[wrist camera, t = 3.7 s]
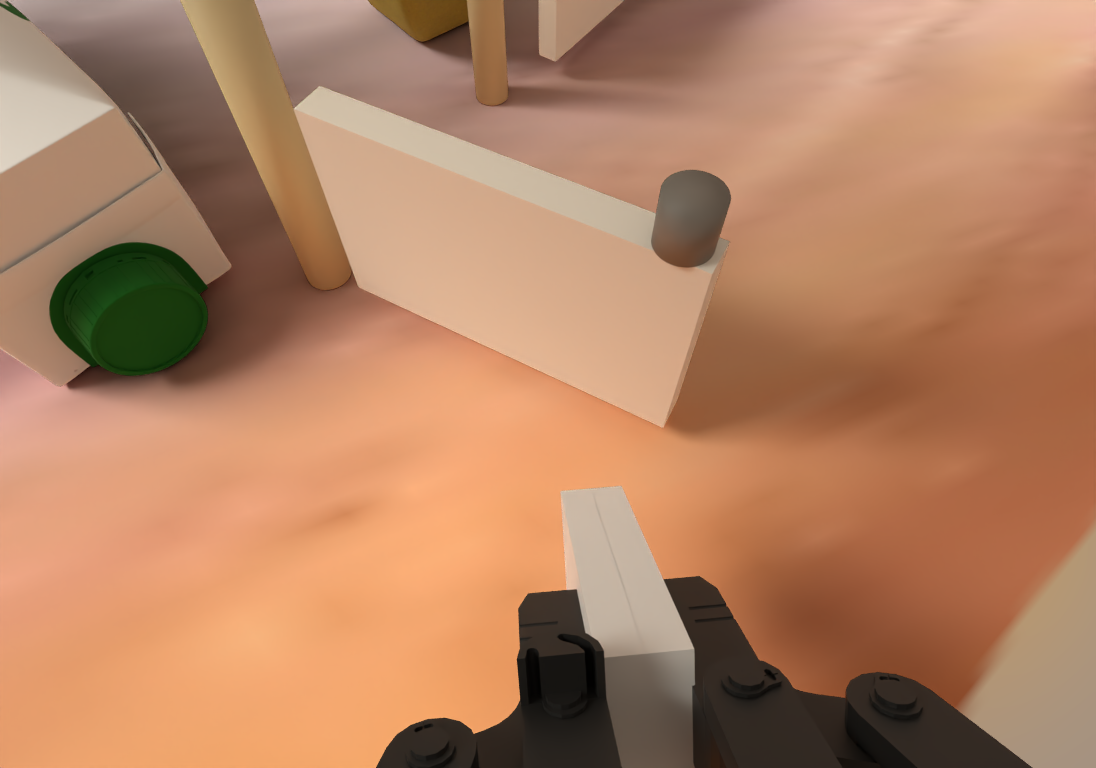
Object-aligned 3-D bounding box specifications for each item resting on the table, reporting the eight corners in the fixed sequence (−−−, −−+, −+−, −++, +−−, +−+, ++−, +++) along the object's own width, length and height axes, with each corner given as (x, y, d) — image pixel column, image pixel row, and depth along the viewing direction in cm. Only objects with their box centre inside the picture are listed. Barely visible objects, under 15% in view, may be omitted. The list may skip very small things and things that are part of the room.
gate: (355, 291, 26) (269, 61, 18) (379, 263, 27) (308, 29, 19) (660, 432, 23) (724, 232, 15) (679, 396, 24) (749, 187, 16)
